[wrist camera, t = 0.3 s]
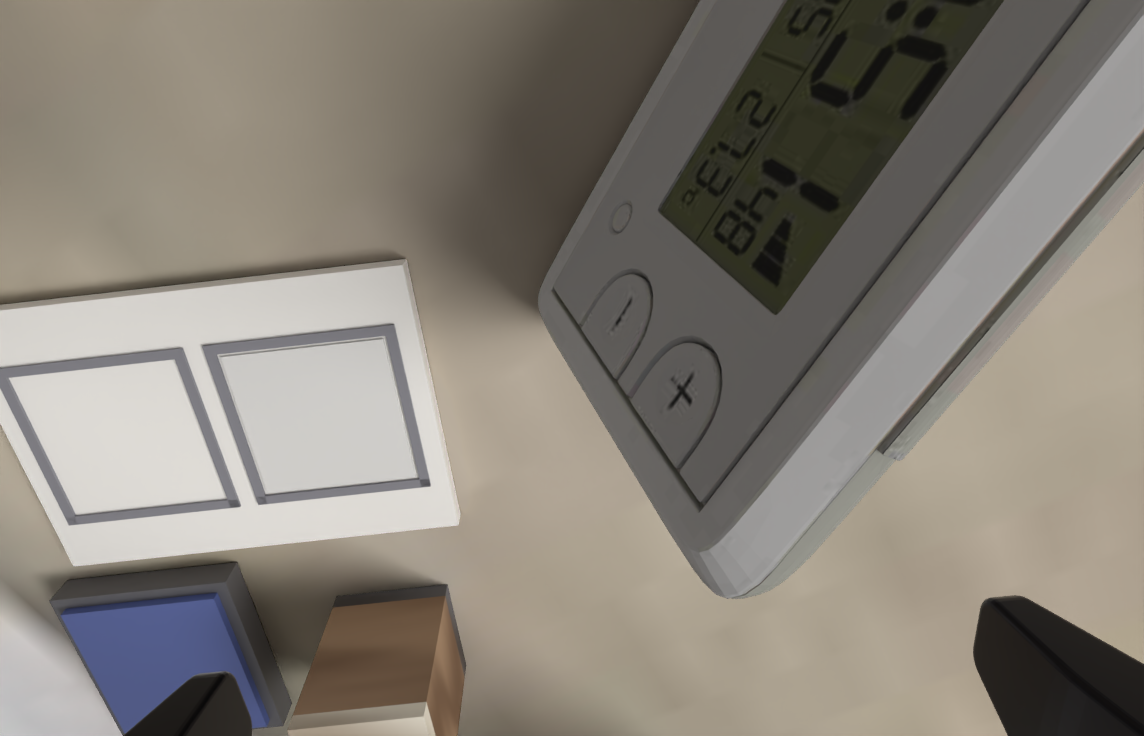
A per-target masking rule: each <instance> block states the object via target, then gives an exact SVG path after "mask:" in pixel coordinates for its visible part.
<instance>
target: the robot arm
mask: <svg viewBox="0 0 1144 736" xmlns="http://www.w3.org/2000/svg"><path fill="white" fill-rule="evenodd" d="M973 655H974V661H975V665H976V668H977V671H978V673H979V675H980V677H981V680H982V682H983V684H984V686H985V688H986V690H987V692H988V694H989V697H990V699H991V701H992V703H993V705H994V707H995V709H996V711H997V714H998V716H999V718H1000V720H1001V722H1002V724H1003V726H1004V728H1005V731H1006V733H1007V735H1008V736H1144V664H1143V663H1141V662H1139V661H1137V660H1136V659H1134V658H1132V657H1130V656H1129V655H1127V654H1125V653H1123V652H1121V651H1120V650H1118V649H1116V648H1114V647H1113V646H1111V645H1109V644H1107V643H1106V642H1104V641H1102V640H1100V639H1098V638H1097V637H1095V636H1093V635H1091V634H1090V633H1088V632H1086V631H1084V630H1082V629H1081V628H1079V627H1077V626H1075V625H1074V624H1072V623H1070V622H1068V621H1067V620H1065V619H1063V618H1061V617H1059V616H1058V615H1056V614H1054V613H1052V612H1051V611H1049V610H1047V609H1045V608H1043V607H1042V606H1040V605H1038V604H1036V603H1035V602H1033V601H1031V600H1029V599H1027V598H1025V597H1022V596H1016V595H1014V596H1004V597H993V598H988V599H986V600H985V601H984V602H983V603H982V605H981V608H980V613H979V619H978V624H977V630H976V636H975V641H974V647H973ZM123 736H252V721H251V716H250V714H249V711H248V708H247V706H246V703H245V701H244V698H243V696H242V693H241V691H240V688H239V686H238V683H237V681H236V679H235V677H234V675H233V674H231V673H230V672H227V671H220V672H210V673H200V674H197V675H194V676H192V677H191V678H190V679H188V680H187V681H186V682H185V683H183V684H182V685H181V686H180V687H179V688H178V689H176V690H175V691H174V692H173V693H172V694H171V695H169V696H168V697H167V698H166V699H165V700H164V701H163V702H161V703H160V704H159V705H158V706H157V707H156V708H154V709H153V710H152V711H151V712H150V713H149V714H147V715H146V716H145V717H144V718H143V719H142V720H140V721H139V722H138V723H137V724H136V725H135V726H133V727H132V728H131V729H130V730H129V731H128V732H126V733H125V734H124V735H123Z"/></svg>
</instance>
